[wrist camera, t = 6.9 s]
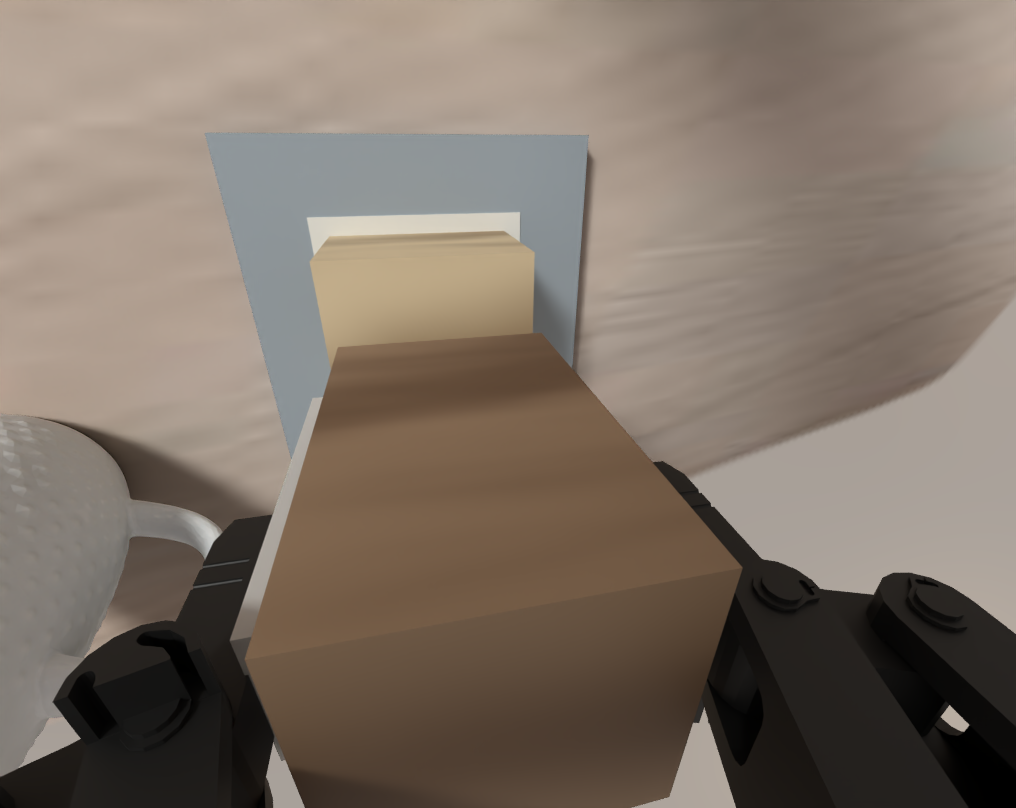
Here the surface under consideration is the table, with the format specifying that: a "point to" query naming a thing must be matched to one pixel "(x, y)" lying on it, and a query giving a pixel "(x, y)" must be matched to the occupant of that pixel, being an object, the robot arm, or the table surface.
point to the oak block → (422, 287)
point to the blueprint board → (389, 224)
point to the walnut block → (483, 591)
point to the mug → (62, 563)
